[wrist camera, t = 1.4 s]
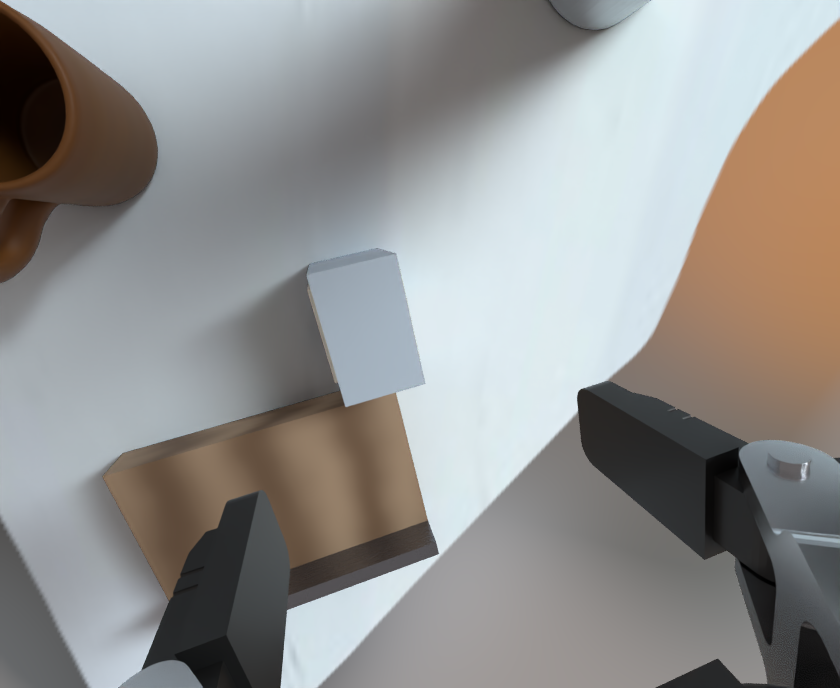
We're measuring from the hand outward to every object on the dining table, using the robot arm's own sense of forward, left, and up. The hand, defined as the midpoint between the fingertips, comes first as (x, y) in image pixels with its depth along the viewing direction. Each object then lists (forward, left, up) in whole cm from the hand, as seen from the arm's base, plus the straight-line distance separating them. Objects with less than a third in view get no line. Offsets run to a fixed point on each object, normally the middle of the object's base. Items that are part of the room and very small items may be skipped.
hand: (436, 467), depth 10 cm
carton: (0, 0, -22) cm, 22 cm away
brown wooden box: (+9, +12, -22) cm, 27 cm away
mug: (+14, -12, -22) cm, 29 cm away
